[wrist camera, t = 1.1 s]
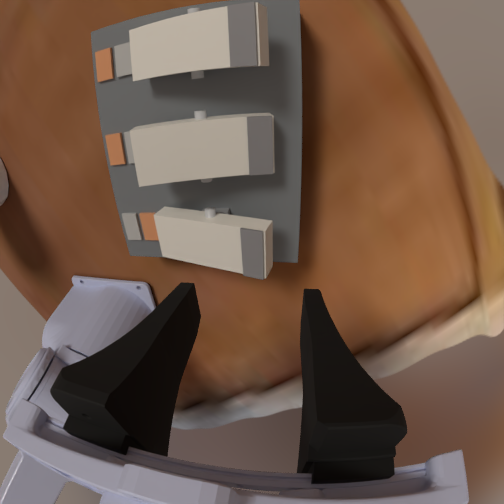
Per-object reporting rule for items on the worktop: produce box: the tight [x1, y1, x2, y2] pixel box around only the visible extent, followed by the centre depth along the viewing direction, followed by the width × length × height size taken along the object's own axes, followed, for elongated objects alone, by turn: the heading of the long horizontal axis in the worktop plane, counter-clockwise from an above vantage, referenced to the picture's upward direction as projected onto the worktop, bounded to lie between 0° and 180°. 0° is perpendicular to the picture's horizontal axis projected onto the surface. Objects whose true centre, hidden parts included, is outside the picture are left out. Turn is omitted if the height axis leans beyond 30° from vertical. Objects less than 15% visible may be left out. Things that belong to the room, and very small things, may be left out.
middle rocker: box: [130, 110, 275, 187], centre depth 15 cm, size 7×4×1 cm, turn 93°
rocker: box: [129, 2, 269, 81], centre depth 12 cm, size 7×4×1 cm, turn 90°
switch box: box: [91, 0, 302, 263], centre depth 17 cm, size 12×16×4 cm
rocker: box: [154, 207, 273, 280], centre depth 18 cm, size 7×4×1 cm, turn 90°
